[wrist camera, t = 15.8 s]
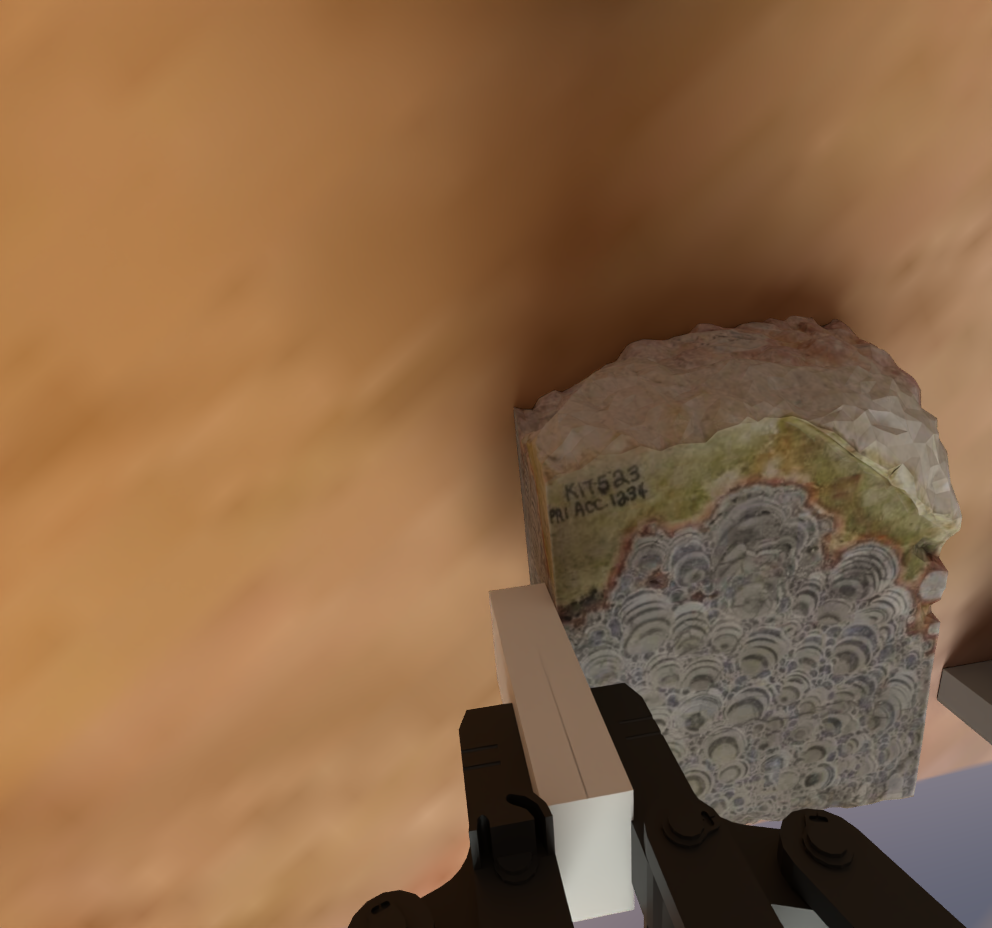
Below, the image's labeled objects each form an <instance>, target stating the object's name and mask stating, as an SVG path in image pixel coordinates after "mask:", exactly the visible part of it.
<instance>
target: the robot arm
mask: <svg viewBox="0 0 992 928" xmlns="http://www.w3.org/2000/svg"><path fill="white" fill-rule="evenodd" d="M489 598H490V609H491V619H492V629H493V640H494V650H495V660H496V671H497V679H498V684H499V688H500V693H501V698H502V702H503V704H501V705H495V706H489V707H483V708H477V709H471V710H466V713H465V715H464V718H463V720H462V723H461V725H460V728H459V736H460V745H461V754H462V763H463V773H464V782H465V791H466V800H467V809H468V818H469V838H470V848H469V852H468V855H467V858H466V860H465V862H464V864H463V865H462V867H461V869H460V870H459V871H458V872H457V874H456V875H455V876H454V877H453V878H452V879H451V880H450V881H448V882H447V883H445V884H444V885H443V886H441V887H440V888H438V889H436V890H434V891H433V892H431V893H429V894H427V895H426V896H424V897H422V898H419V897H418V896H417V895H416V894H413V893H409V892H406V891H402V890H397V891H391V892H385V893H382V894H380V895H378V896H376V897H375V898H373V899H371V900H369V901H367V902H366V903H365V904H364V905H363V907H362V908H361V909H360V910H359V911H358V912H357V913H356V914H355V915H354V916H353V918H352V920H351V922H350V924H349V926H348V928H574V926H573V922H576V921H581V920H586V919H590V918H595V917H600V916H605V915H610V914H615V913H619V912H624V911H628V910H633V909H634V890H635V893H636V896H637V899H638V901H639V904H640V907H641V910H642V913H643V915H644V928H966V927H965V926H964V925H963V924H962V923H961V922H959V921H958V920H957V919H956V918H955V917H954V916H953V915H952V914H951V913H950V912H948V911H947V910H946V909H945V908H944V907H943V906H942V905H941V904H940V903H939V902H937V901H936V900H935V899H934V898H933V897H932V896H931V895H930V894H928V892H926V891H925V890H924V889H923V888H922V887H921V886H920V885H919V884H918V883H916V882H915V881H914V880H913V879H912V878H911V877H910V876H909V875H908V874H907V873H905V872H904V871H903V870H902V869H901V868H900V867H899V866H898V865H896V864H895V863H894V862H893V861H892V860H891V859H890V858H889V857H888V856H887V855H886V854H884V853H883V852H882V851H881V850H880V849H879V848H878V847H877V846H876V845H875V844H873V843H872V842H871V841H870V840H869V839H868V838H867V837H866V836H865V835H863V834H862V833H861V832H860V831H859V830H858V829H857V828H855V827H854V826H853V825H851V824H850V823H848V822H847V821H846V820H844V819H843V818H841V817H839V816H837V815H834V814H832V813H829V812H826V811H824V810H817V809H809V808H805V809H801V810H797V811H792V812H791V813H790V814H789V815H788V816H787V817H785V818H784V819H783V821H782V825H781V829H773V828H766V827H757V826H749V825H744V824H739V823H735V822H732V821H729V820H727V819H725V818H722V817H720V816H719V815H718V813H717V812H716V811H715V810H714V809H713V808H712V807H710V806H709V805H707V804H706V803H704V802H703V801H701V800H700V799H698V797H697V796H696V794H695V793H694V791H693V790H692V788H691V786H690V784H689V782H688V780H687V779H686V777H685V775H684V773H683V771H682V769H681V767H680V766H679V764H678V762H677V760H676V758H675V756H674V755H673V753H672V751H671V749H670V747H669V745H668V743H667V742H666V740H665V738H664V736H663V735H662V734H661V731H660V729H659V727H658V725H657V723H656V721H655V719H653V716H652V714H651V712H650V710H649V708H648V707H647V705H646V703H645V701H644V699H643V697H642V696H640V695H639V694H638V693H637V692H636V691H634V690H633V689H632V688H631V687H629V686H628V685H627V684H626V683H619V684H613V685H607V686H601V687H595V688H589V685H588V683H587V681H586V678H585V676H584V674H583V671H582V669H581V667H580V664H579V662H578V660H577V657H576V655H575V653H574V650H573V648H572V646H571V643H570V641H569V639H568V636H567V634H566V632H565V629H564V627H563V625H562V622H561V620H560V618H559V615H558V613H557V611H556V608H555V606H554V604H553V601H552V599H551V597H550V594H549V592H548V590H547V587H546V585H545V583H541V584H534V585H527V586H520V587H513V588H506V589H499V590H492V591H489Z"/></svg>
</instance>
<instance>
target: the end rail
mask: <svg viewBox="0 0 992 928" xmlns="http://www.w3.org/2000/svg"><path fill="white" fill-rule="evenodd" d="M937 700H938V701H939V702H940V703H941V704H943V705H944V706H945V707H946V708H948V709H949V710H950V711H951V712H952V713H954V714H955V715H956V716H957V717H958V718H960V719H961V720H962V721H963V722H965V723H966V724H967V725H968V726H969V727H971V728H972V729H973V730H974V731H975V732H977V733H978V734H979V735H980V736H982V737H983V738H984V739H985V740H986V741H988V742H989V743H990V744H991V745H992V660H991V661H985V662H979V663H974V664H968V665H962V666H957V667H951V668H945V669H943V673H942V678H941V683H940V688H939V693H938V698H937Z"/></svg>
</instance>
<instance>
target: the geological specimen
mask: <svg viewBox="0 0 992 928" xmlns="http://www.w3.org/2000/svg"><path fill="white" fill-rule="evenodd" d="M514 419H515V430H516V441H517V451H518V461H519V472H520V482H521V492H522V501H523V511H524V521H525V533H526V543H527V553H528V563H529V573H530V583H531V585H534V584H541V583H545V585H546V587H547V590H548V592H549V594H550V597H551V599H552V601H553V604H554V606H555V608H556V611H557V613H558V615H559V618H560V620H561V622H562V625H563V627H564V629H565V632H566V634H567V636H568V639H569V641H570V643H571V646H572V648H573V650H574V653H575V655H576V657H577V660H578V662H579V664H580V667H581V669H582V671H583V674H584V676H585V678H586V681H587V683H588V685H589V688H595V687H601V686H607V685H613V684H619V683H626V684H627V685H628V686H629V687H631V688H632V689H633V690H634V691H636V692H637V693H638V694H639V695H640V696H642V697H643V699H644V701H645V703H646V705H647V707H648V708H649V710H650V712H651V714H652V716H653V719H655V721H656V723H657V725H658V727H659V729H660V731H661V734H662V735H663V736H664V738H665V740H666V742H667V743H668V745H669V747H670V749H671V751H672V753H673V755H674V756H675V758H676V760H677V762H678V764H679V766H680V767H681V769H682V771H683V773H684V775H685V777H686V779H687V780H688V782H689V784H690V786H691V788H692V790H693V791H694V793H695V794H696V796H697V797H698V799H700V800H701V801H703V802H704V803H706V804H707V805H709V806H710V807H712V808H713V809H714V810H715V811H716V812H717V813H718V815H719V816H720V817H722V818H725V819H727V820H729V821H732V822H735V823H739V824H747V823H752V824H755V823H756V822H758V821H759V820H761V819H762V820H767V821H781V820H783V819H784V818H785V817H787V816H788V815H789V814H790V813H791V812H792V811H797V810H801V809H805V808H809V809H817V810H823V809H826V808H829V807H843V808H851V807H856V806H862V805H868V804H873V803H876V802H879V801H882V800H892V799H903V798H908V797H913V796H914V791H915V786H916V780H917V773H918V766H919V759H920V753H921V747H922V740H923V733H924V726H925V717H926V710H927V704H928V697H929V689H930V679H931V672H932V666H933V660H934V655H935V649H936V644H937V639H938V634H939V627H940V622H939V620H938V619H937V618H936V617H935V616H934V614H933V613H932V611H931V604H933V603H935V602H937V601H939V600H940V599H941V596H942V593H943V591H944V590H945V588H946V582H947V576H948V571H947V569H946V568H945V566H944V565H943V563H942V562H941V560H940V558H939V555H940V552H941V548H942V546H943V545H944V543H945V542H946V540H947V539H949V538H950V537H951V536H953V535H954V534H955V533H956V532H958V531H959V530H960V527H961V520H962V515H961V511H960V507H959V504H958V501H957V499H956V496H955V493H954V490H953V488H952V485H951V482H950V474H949V465H948V457H947V451H946V449H945V448H944V446H943V444H942V443H941V441H940V439H939V433H938V430H937V418H936V417H934V416H933V415H931V414H930V413H928V412H927V411H925V410H924V409H922V408H921V390H920V388H919V386H918V384H917V382H916V381H915V379H914V378H913V377H912V376H910V375H909V374H908V373H906V372H905V371H903V370H902V369H900V368H898V366H897V365H896V363H895V362H894V360H893V359H892V357H891V356H890V355H889V354H888V353H887V352H885V351H884V350H882V349H879V348H878V347H877V346H875V345H873V344H871V343H868V342H866V341H864V340H861V339H859V338H858V337H857V336H856V335H855V334H854V333H853V332H852V330H851V329H850V328H849V327H848V326H847V325H845V324H844V323H843V322H842V321H839V320H832V321H831V322H830V323H829V324H827V325H824V326H819V325H818V324H817V323H816V322H815V320H814V319H813V318H812V317H811V318H806V317H799V316H790V317H789V318H787V319H786V320H785V321H781V320H777V319H772V318H769V319H767V320H766V321H764V322H762V323H759V322H751V323H746V324H741V325H739V326H737V327H735V328H723V327H720V326H715V325H713V324H698V325H697V326H696V327H695V328H694V329H693V330H692V331H691V332H690V333H689V334H685V335H681V336H676V337H672V338H670V339H668V340H650V339H642V340H639V341H636V342H633V343H630V344H629V345H627V346H626V348H625V349H624V350H623V352H622V353H621V355H620V356H619V358H618V359H617V361H615V362H614V363H610V364H606V365H605V366H603V367H602V368H601V369H600V370H598V371H595V372H594V373H593V374H591V375H590V376H589V377H587V378H586V379H584V380H582V381H581V382H579V383H578V384H575V385H574V386H573V387H571V388H569V389H567V390H565V391H564V392H560V391H556V390H553V391H551V392H550V393H548V394H546V395H544V396H542V397H541V398H539V399H538V401H537V402H536V404H535V406H534V408H533V409H519V408H515V407H514Z"/></svg>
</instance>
